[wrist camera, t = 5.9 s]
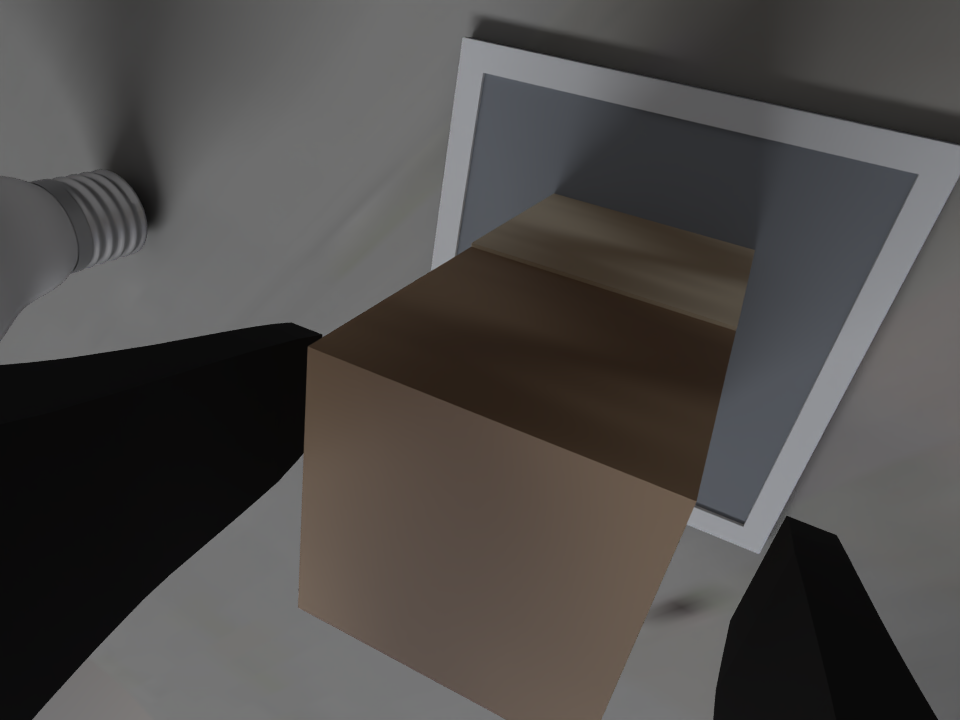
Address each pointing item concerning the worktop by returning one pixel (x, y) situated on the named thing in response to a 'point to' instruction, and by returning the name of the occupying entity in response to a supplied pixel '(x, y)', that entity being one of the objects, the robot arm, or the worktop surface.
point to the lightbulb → (62, 232)
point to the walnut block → (504, 478)
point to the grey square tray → (714, 230)
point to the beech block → (628, 257)
